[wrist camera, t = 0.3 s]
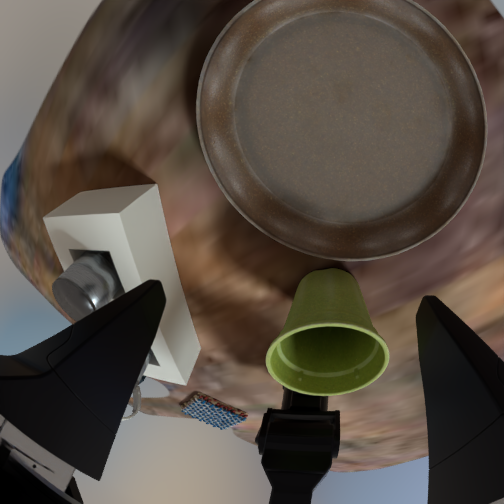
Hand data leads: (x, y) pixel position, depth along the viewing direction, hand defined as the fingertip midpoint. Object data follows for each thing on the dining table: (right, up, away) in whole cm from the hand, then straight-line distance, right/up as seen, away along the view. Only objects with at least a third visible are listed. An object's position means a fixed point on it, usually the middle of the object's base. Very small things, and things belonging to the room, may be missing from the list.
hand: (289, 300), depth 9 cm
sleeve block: (-14, -2, +21) cm, 25 cm away
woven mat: (-8, -27, +38) cm, 48 cm away
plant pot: (+6, -2, +18) cm, 19 cm away
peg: (-15, +1, +15) cm, 21 cm away
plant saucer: (+6, +11, +9) cm, 16 cm away
